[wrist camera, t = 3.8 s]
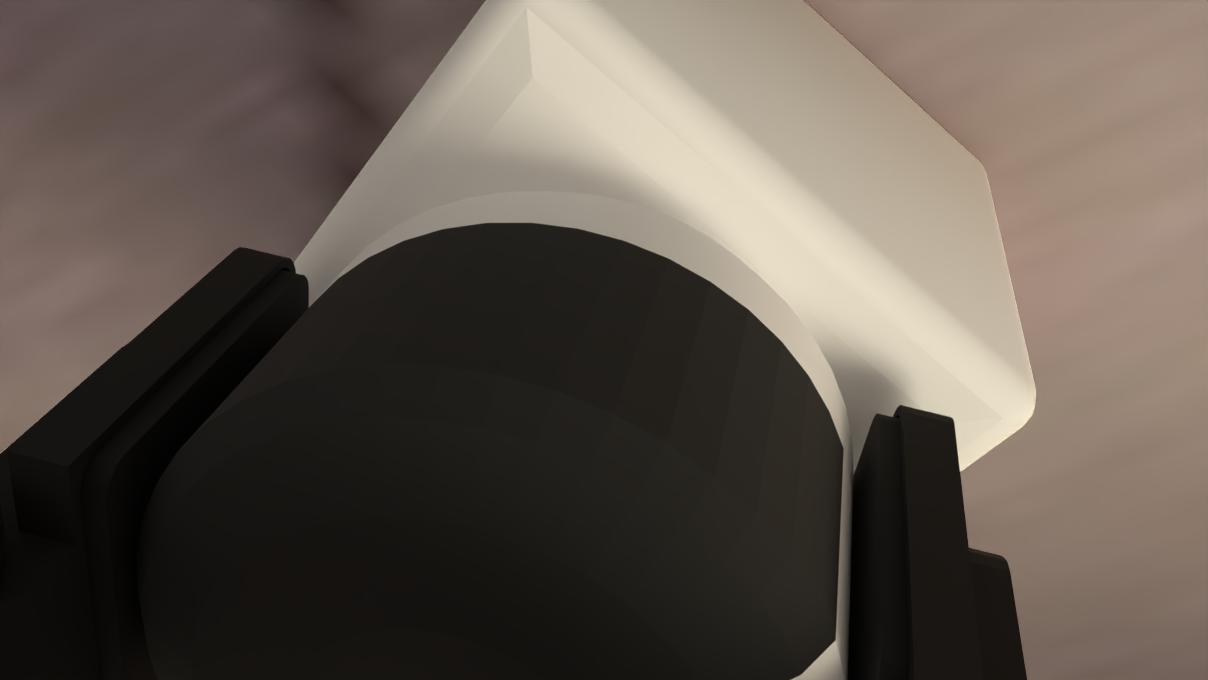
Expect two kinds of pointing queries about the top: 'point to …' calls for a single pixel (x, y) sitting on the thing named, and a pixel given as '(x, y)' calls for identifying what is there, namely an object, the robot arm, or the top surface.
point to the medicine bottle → (593, 366)
